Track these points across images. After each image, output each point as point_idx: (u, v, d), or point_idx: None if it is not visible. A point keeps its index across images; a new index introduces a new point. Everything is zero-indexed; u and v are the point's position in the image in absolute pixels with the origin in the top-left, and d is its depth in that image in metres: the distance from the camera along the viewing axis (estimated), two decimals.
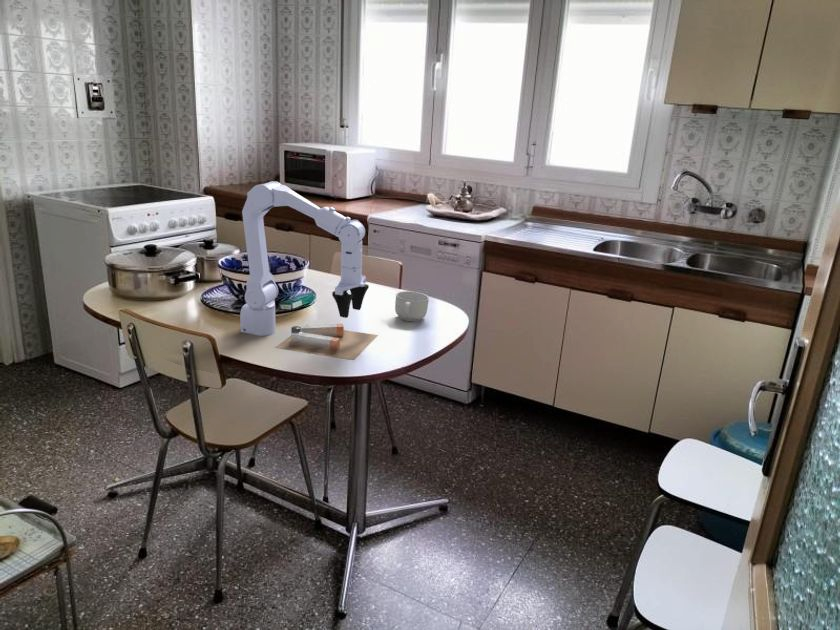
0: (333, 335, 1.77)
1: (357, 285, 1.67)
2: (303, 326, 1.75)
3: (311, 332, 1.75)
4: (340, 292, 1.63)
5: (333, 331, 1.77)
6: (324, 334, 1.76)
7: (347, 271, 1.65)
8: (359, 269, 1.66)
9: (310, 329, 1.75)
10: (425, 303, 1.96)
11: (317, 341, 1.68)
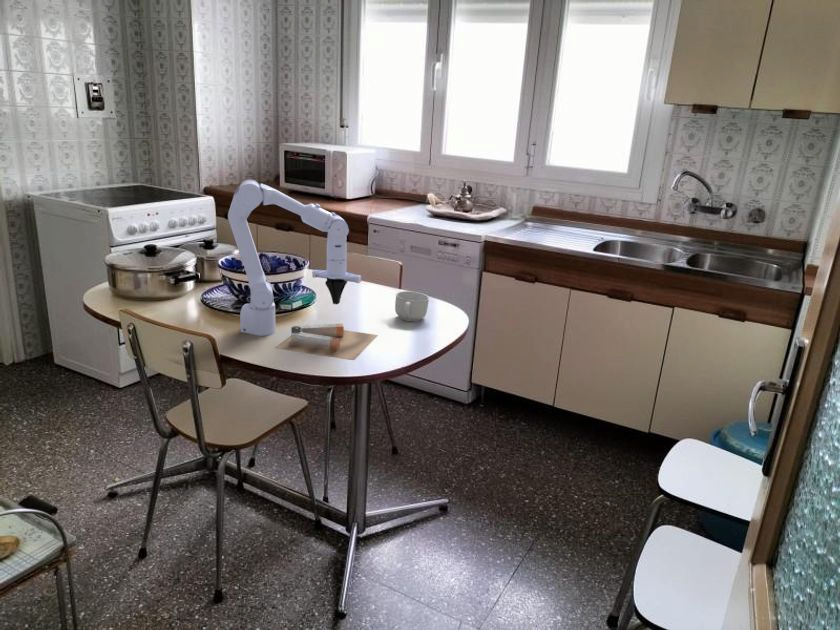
0: (333, 335, 1.77)
1: (328, 276, 1.77)
2: (303, 326, 1.75)
3: (311, 332, 1.75)
4: None
5: (333, 331, 1.77)
6: (324, 334, 1.76)
7: None
8: (331, 261, 1.75)
9: (310, 329, 1.75)
10: (425, 303, 1.96)
11: (317, 341, 1.68)
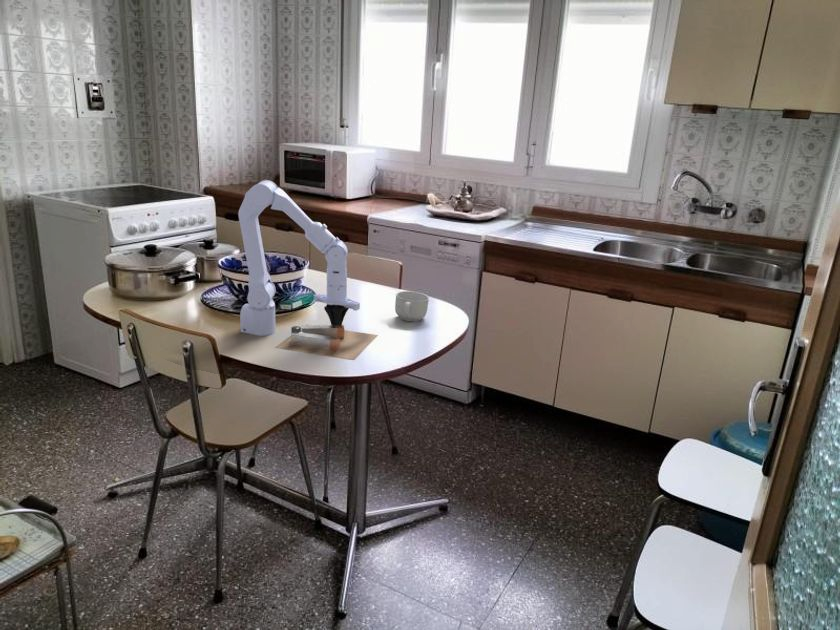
0: (334, 336, 1.76)
1: None
2: (304, 326, 1.75)
3: (312, 332, 1.75)
4: None
5: (333, 333, 1.76)
6: (324, 335, 1.76)
7: None
8: (329, 287, 1.74)
9: (310, 329, 1.74)
10: (425, 303, 1.96)
11: (317, 341, 1.68)
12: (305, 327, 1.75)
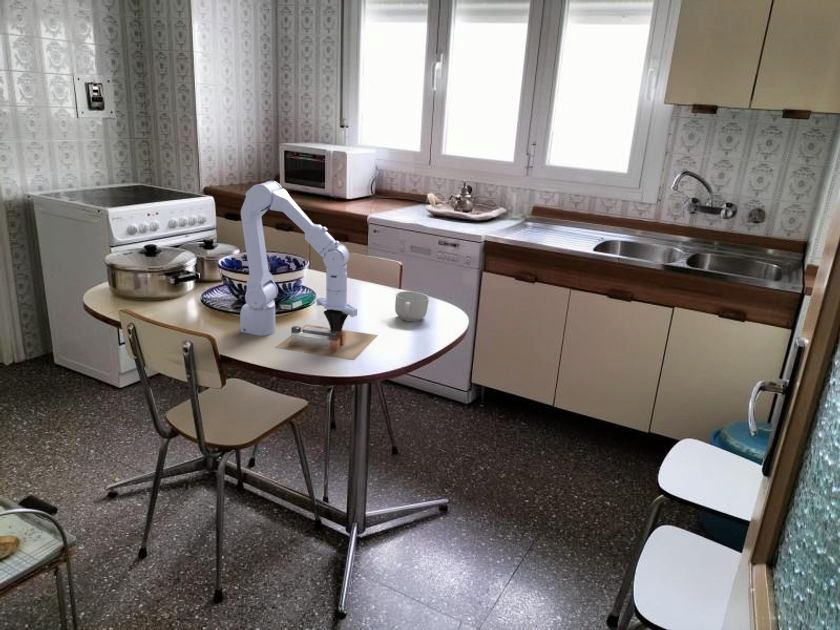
0: None
1: None
2: (306, 327, 1.74)
3: None
4: None
5: None
6: None
7: None
8: (327, 291, 1.70)
9: (310, 332, 1.73)
10: (425, 303, 1.96)
11: (317, 341, 1.68)
12: (306, 328, 1.74)
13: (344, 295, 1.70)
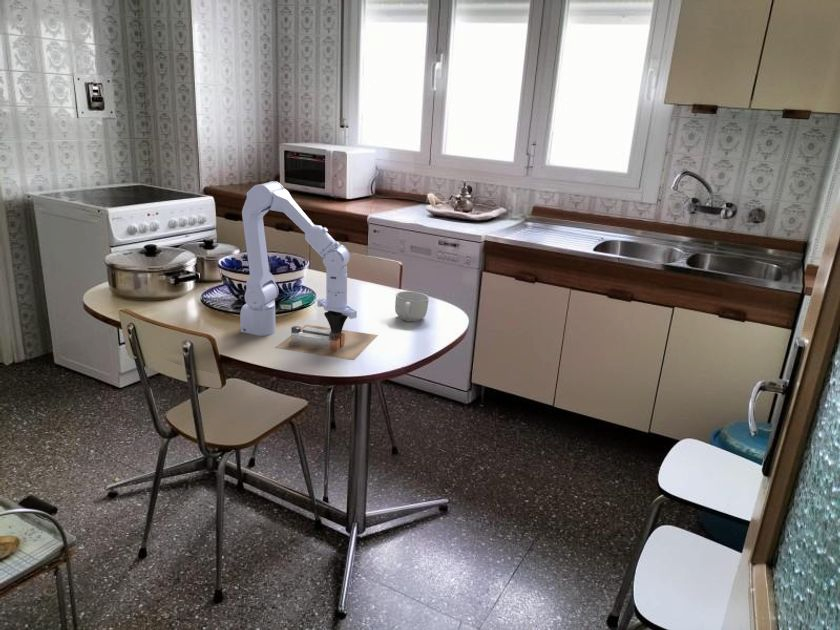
0: None
1: (325, 307, 1.71)
2: (306, 328, 1.74)
3: None
4: None
5: None
6: None
7: None
8: (327, 293, 1.69)
9: (310, 332, 1.72)
10: (425, 303, 1.96)
11: (317, 341, 1.68)
12: (307, 329, 1.73)
13: (344, 297, 1.69)
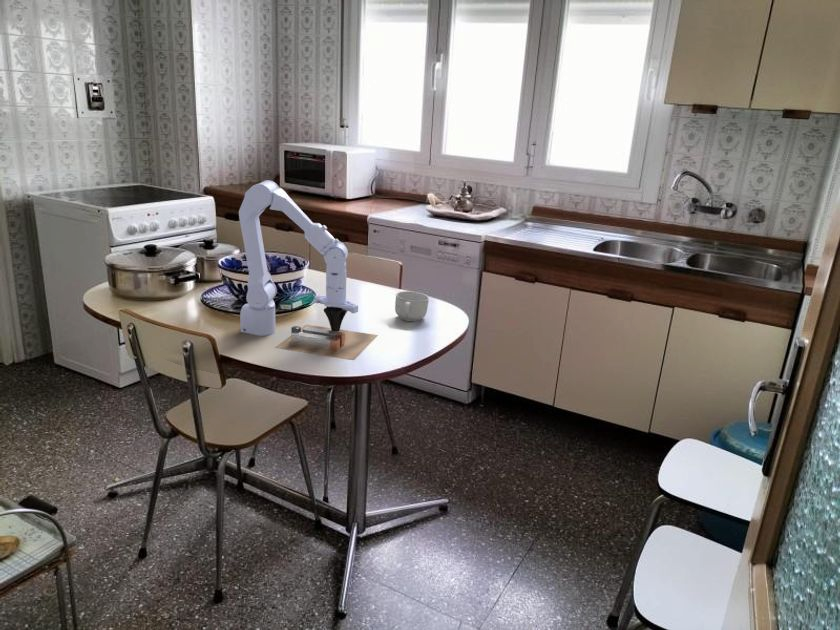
0: None
1: None
2: (306, 328, 1.74)
3: None
4: None
5: None
6: None
7: None
8: (328, 289, 1.72)
9: (310, 332, 1.73)
10: (425, 303, 1.96)
11: (317, 341, 1.68)
12: (306, 329, 1.73)
13: (344, 292, 1.73)
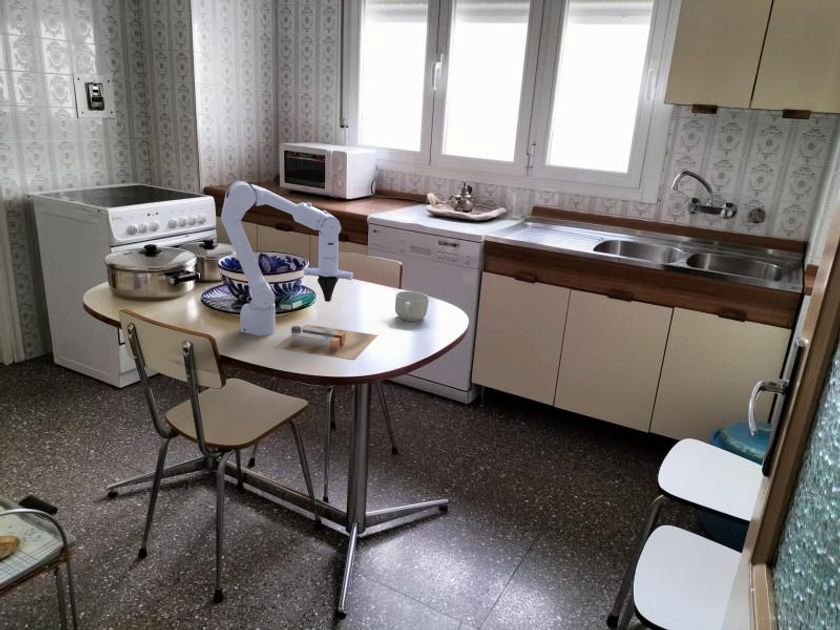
0: None
1: (320, 273, 1.78)
2: (306, 328, 1.74)
3: None
4: None
5: None
6: None
7: None
8: (323, 259, 1.76)
9: (310, 332, 1.73)
10: (425, 303, 1.96)
11: (317, 341, 1.68)
12: (306, 329, 1.73)
13: None
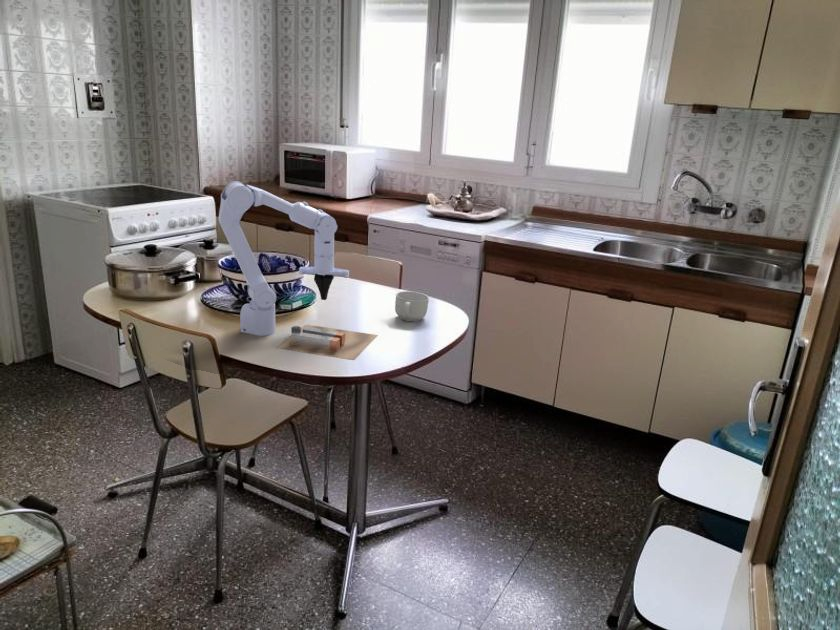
0: None
1: (317, 272, 1.79)
2: (306, 328, 1.74)
3: None
4: None
5: None
6: None
7: None
8: (320, 258, 1.78)
9: (310, 332, 1.73)
10: (425, 303, 1.96)
11: (317, 341, 1.68)
12: (306, 329, 1.73)
13: (333, 259, 1.81)
